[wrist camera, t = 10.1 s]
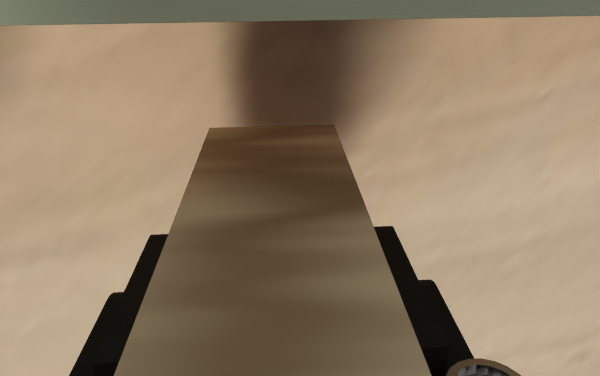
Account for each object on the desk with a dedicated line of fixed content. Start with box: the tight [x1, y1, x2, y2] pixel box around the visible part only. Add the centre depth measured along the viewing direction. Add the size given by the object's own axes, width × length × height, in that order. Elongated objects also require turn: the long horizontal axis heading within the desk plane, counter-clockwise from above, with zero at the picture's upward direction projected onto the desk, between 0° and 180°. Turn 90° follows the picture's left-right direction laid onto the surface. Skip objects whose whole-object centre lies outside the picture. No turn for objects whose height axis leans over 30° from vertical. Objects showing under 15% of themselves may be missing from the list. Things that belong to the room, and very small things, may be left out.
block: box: [114, 125, 431, 376], centre depth 11 cm, size 4×4×12 cm
